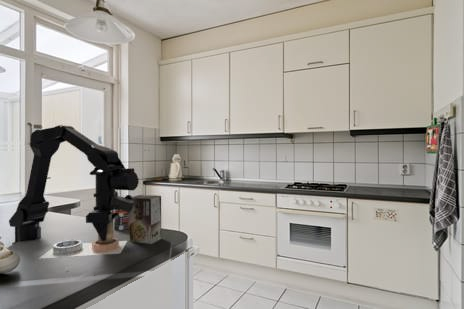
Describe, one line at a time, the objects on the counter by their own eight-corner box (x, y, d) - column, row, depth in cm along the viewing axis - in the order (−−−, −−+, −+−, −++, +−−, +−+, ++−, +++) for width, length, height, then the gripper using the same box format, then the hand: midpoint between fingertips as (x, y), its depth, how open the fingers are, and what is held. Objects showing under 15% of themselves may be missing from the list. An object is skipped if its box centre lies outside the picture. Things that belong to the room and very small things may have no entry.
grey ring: (48, 255, 80) (48, 248, 80) (59, 246, 88) (59, 240, 88) (76, 253, 82) (76, 246, 82) (85, 245, 89) (85, 239, 89)
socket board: (38, 262, 78) (38, 258, 78) (56, 247, 90) (56, 244, 90) (120, 256, 82) (120, 253, 82) (127, 243, 94) (127, 240, 94)
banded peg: (96, 247, 84) (95, 224, 84) (100, 242, 89) (100, 221, 89) (111, 246, 85) (111, 224, 85) (115, 241, 90) (115, 220, 90)
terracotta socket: (89, 252, 83) (89, 246, 82) (96, 244, 90) (96, 238, 90) (115, 251, 84) (115, 244, 84) (121, 243, 91) (120, 237, 91)
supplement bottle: (124, 233, 106) (124, 204, 106) (111, 232, 107) (110, 203, 107) (133, 229, 112) (133, 201, 112) (120, 228, 113) (120, 200, 113)
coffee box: (162, 241, 97) (162, 195, 96) (151, 247, 90) (151, 198, 90) (140, 238, 100) (140, 194, 99) (128, 244, 93) (128, 196, 93)
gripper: (126, 192, 79) (126, 246, 79) (136, 185, 98) (136, 229, 98) (85, 193, 77) (85, 249, 77) (103, 186, 95) (103, 230, 96)
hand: (105, 238), depth 87 cm, fingers closed on banded peg, 4 cm apart
